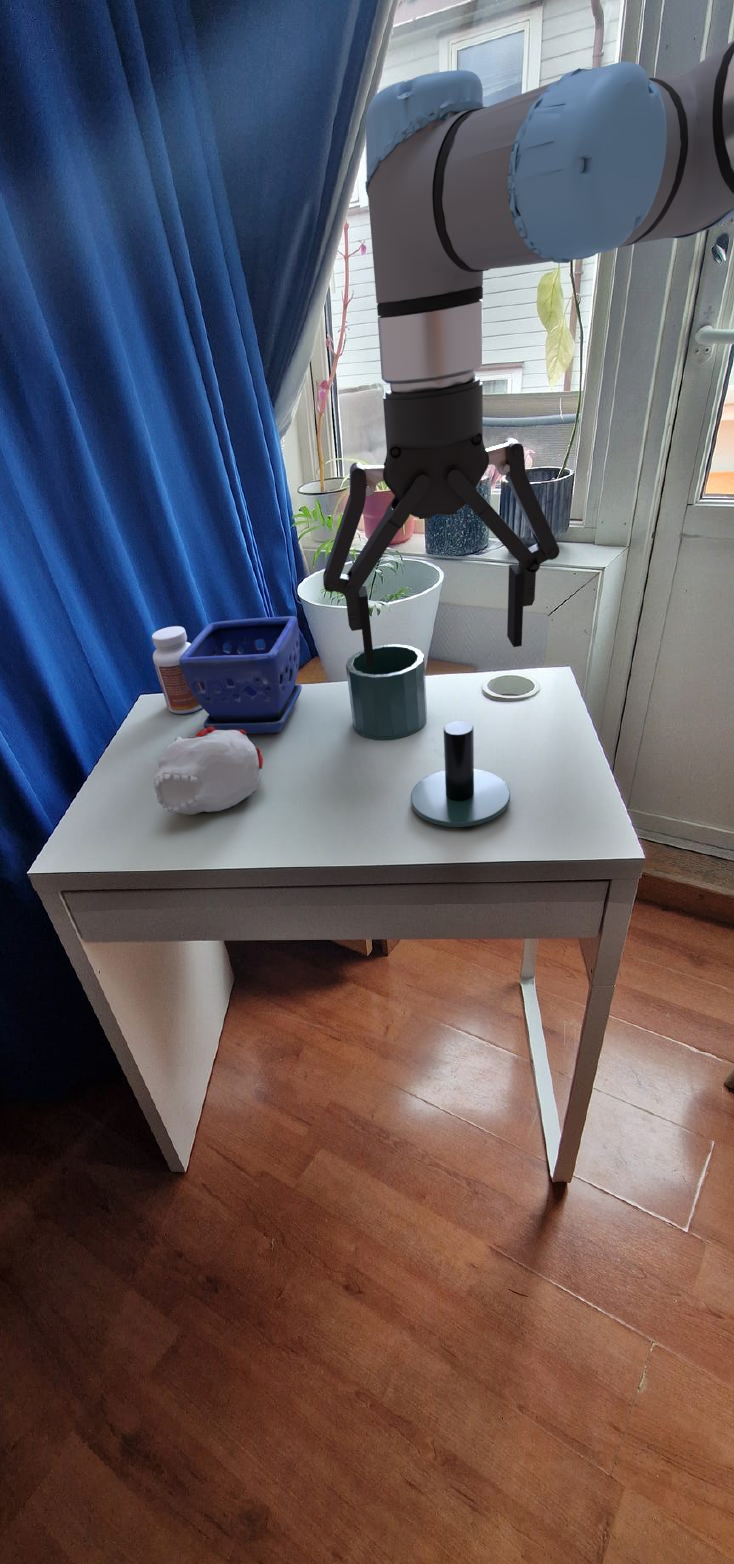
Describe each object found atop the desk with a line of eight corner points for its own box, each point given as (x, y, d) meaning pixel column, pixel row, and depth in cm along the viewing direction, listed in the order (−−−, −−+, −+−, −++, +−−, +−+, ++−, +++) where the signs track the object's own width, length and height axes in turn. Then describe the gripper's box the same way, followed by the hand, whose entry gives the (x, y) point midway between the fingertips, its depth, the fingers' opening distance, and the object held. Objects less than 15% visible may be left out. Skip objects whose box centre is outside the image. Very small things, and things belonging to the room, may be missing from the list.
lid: (509, 776, 82) (512, 701, 77) (509, 831, 75) (512, 753, 69) (416, 777, 85) (411, 705, 79) (406, 831, 77) (400, 756, 71)
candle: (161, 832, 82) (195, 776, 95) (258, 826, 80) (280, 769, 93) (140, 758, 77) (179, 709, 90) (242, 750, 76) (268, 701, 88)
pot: (429, 703, 99) (426, 642, 93) (423, 738, 91) (419, 675, 86) (359, 705, 101) (352, 646, 95) (348, 740, 94) (340, 678, 88)
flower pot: (196, 743, 99) (173, 659, 91) (227, 698, 108) (208, 618, 101) (290, 742, 95) (273, 655, 88) (313, 695, 105) (300, 613, 97)
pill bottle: (217, 701, 108) (199, 628, 101) (184, 719, 105) (163, 644, 98) (192, 692, 112) (173, 620, 105) (160, 709, 109) (137, 636, 102)
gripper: (585, 349, 57) (564, 618, 71) (271, 401, 59) (310, 653, 72) (616, 357, 51) (588, 648, 65) (267, 414, 53) (310, 686, 66)
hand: (441, 651), depth 69 cm, fingers open, 13 cm apart
